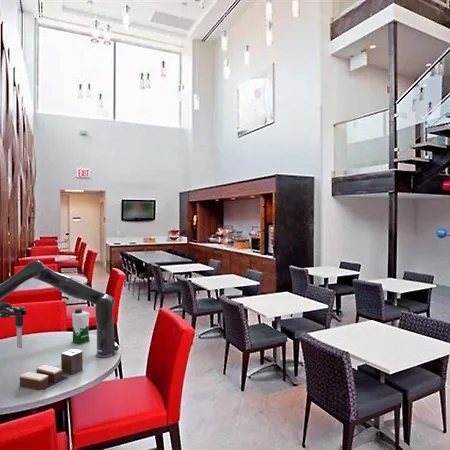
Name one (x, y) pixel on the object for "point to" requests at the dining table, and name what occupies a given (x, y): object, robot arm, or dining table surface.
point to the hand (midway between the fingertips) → (23, 313)
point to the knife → (19, 327)
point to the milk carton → (80, 326)
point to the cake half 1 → (34, 380)
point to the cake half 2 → (50, 372)
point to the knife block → (71, 361)
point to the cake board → (54, 383)
